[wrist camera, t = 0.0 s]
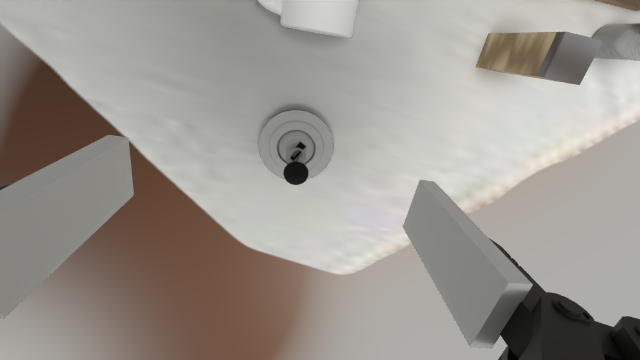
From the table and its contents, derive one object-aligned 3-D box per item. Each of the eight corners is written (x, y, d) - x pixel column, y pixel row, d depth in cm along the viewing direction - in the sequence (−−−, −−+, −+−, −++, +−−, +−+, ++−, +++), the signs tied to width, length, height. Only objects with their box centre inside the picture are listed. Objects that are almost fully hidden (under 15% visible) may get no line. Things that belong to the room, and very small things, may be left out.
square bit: (488, 33, 37) (565, 31, 27) (516, 40, 38) (603, 40, 27) (475, 66, 39) (543, 77, 28) (502, 72, 40) (579, 84, 29)
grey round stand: (287, 110, 28) (228, 184, 31) (362, 171, 31) (302, 232, 34) (290, 89, 39) (246, 145, 42) (345, 136, 42) (301, 185, 45)
